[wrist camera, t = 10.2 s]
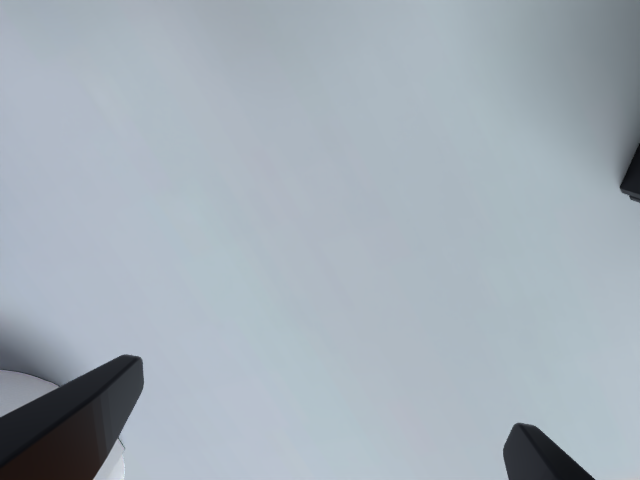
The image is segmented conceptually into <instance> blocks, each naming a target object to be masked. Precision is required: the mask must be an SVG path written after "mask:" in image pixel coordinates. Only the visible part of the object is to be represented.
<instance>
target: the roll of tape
mask: <svg viewBox="0 0 640 480" xmlns="http://www.w3.org/2000/svg"><path fill="white" fill-rule="evenodd" d="M58 387H59V386H58V385H56V384H54V383H51V382H49V381H45V380H43V379H40V378H38V377H35V376H31V375H28V374H25V373H20V372H15V371H7V370H0V417H1V416H3V415H5V414H7V413H9V412H11V411H13V410H15V409H17V408H19V407H21V406H23V405H25V404H27V403H29V402H31V401H33V400H35V399H37V398H39V397H41V396H43V395H45V394H47V393H49V392H50V391H52V390H54V389H56V388H58ZM124 451H125V449H124V447H123V446H122V444H121V442H120V441H119V439H117V440H116V442H115V444H114V446H113V448H112V450H111V452H110V453H109V455H108V457H107V459H106V460H105V462H104V463H103V465H102V467H101V468H100V470H99V471H98V473H97V474H96V476H95V478H94V479H93V480H124V475H125V463H124V458H123V453H124Z"/></svg>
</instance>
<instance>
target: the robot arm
mask: <svg viewBox="0 0 640 480" xmlns="http://www.w3.org/2000/svg"><path fill="white" fill-rule="evenodd" d="M620 189H621V191H622V193H624V194H627V195H630V196H629V197H630V199H631V200H633V201H636V202H639V203H640V144H639V146H638V148H637V150H636V153H635V155H634V157H633V159H632V162H631V164H630V166H629V168H628V170H627V173H626V175H625V177H624V179H623V182H622V184H621V186H620ZM143 385H144V376H143V362H142V359H141V357H138V356H133V355H127V354H125V355H121V356H119V357H117V358H115V359H113V360H111V361H109V362H107V363H105V364H103V365H101V366H100V367H98V368H96V369H94V370H92V371H90V372H88V373H86V374H84V375H82V376H80V377H78V378H76V379H74V380H72V381H70V382H68V383H66V384H64V385H62V386H60V387H58V388H56V389H54V390H52V391H50V392H49V393H47V394H45V395H43V396H41V397H39V398H37V399H35V400H33V401H31V402H29V403H27V404H25V405H23V406H21V407H19V408H17V409H15V410H13V411H11V412H9V413H7V414H5V415H3V416H1V417H0V480H93V479H94V478H95V476H96V474H97V473H98V471H99V470H100V468H101V467H102V465H103V463H104V462H105V460H106V459H107V457H108V455H109V453H110V452H111V450H112V448H113V446H114V444H115V442H116V440H117V439H118V437H119V435H120V433H121V431H122V429H123V427H124V425H125V423H126V421H127V419H128V417H129V416H130V414H131V412H132V410H133V408H134V406H135V404H136V402H137V400H138V398H139V396H140V394H141V392H142V390H143ZM503 457H504V462H505V466H506V470H507V474H508V478H509V480H595V479H594V478H593V477H592V476H591V475H590V474H589V473H587V472H586V471H585V470H584V469H583V468H582V467H581V466H580V465H579V464H577V463H576V462H575V461H574V460H573V459H572V458H571V457H570V456H569V455H567V454H566V453H565V452H564V451H563V450H562V449H561V448H560V447H559V446H558V445H556V444H555V443H554V442H553V441H552V440H551V439H550V438H549V437H548V436H546V435H545V434H544V433H543V432H542V431H541V430H540V429H539V428H537V427H536V426H534V425H529V424H524V423H516V424H515V425H514V426H513V428H512V430H511V432H510V434H509V436H508V439H507V441H506V443H505V445H504V449H503Z"/></svg>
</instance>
